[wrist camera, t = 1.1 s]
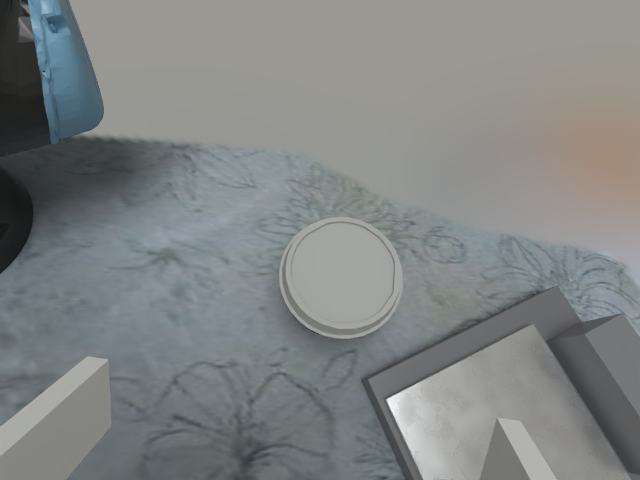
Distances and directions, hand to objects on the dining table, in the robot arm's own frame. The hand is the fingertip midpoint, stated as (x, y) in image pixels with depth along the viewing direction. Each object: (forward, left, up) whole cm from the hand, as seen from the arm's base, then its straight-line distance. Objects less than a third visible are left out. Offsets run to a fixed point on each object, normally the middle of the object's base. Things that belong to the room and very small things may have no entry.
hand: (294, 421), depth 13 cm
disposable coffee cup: (-7, +7, -24) cm, 26 cm away
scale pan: (+11, +16, -21) cm, 28 cm away
